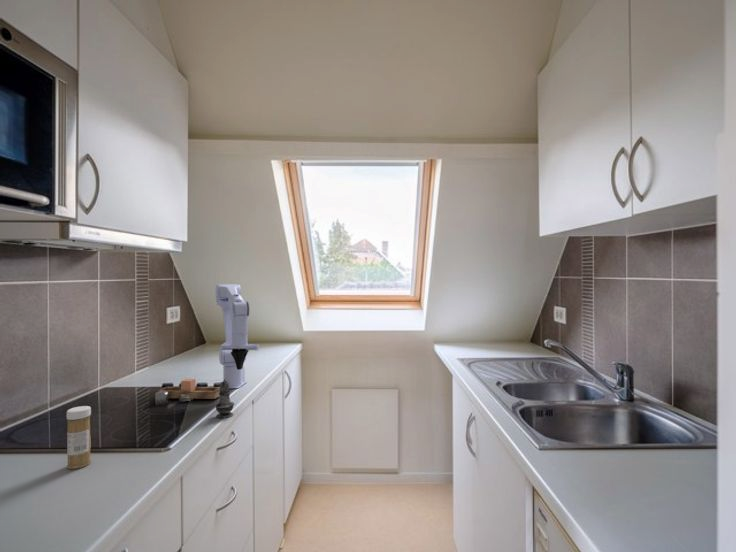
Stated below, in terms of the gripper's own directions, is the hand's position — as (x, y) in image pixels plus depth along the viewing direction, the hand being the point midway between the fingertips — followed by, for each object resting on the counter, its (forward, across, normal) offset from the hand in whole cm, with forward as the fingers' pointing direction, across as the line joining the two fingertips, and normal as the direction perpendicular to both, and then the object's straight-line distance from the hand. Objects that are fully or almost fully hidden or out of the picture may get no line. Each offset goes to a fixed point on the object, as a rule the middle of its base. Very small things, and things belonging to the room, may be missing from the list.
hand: (239, 369), depth 144 cm
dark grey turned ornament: (+10, +4, -22) cm, 25 cm away
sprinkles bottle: (+10, -16, -56) cm, 59 cm away
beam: (+10, -17, -5) cm, 20 cm away
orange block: (+7, -18, -5) cm, 20 cm away
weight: (+10, -24, -11) cm, 28 cm away
